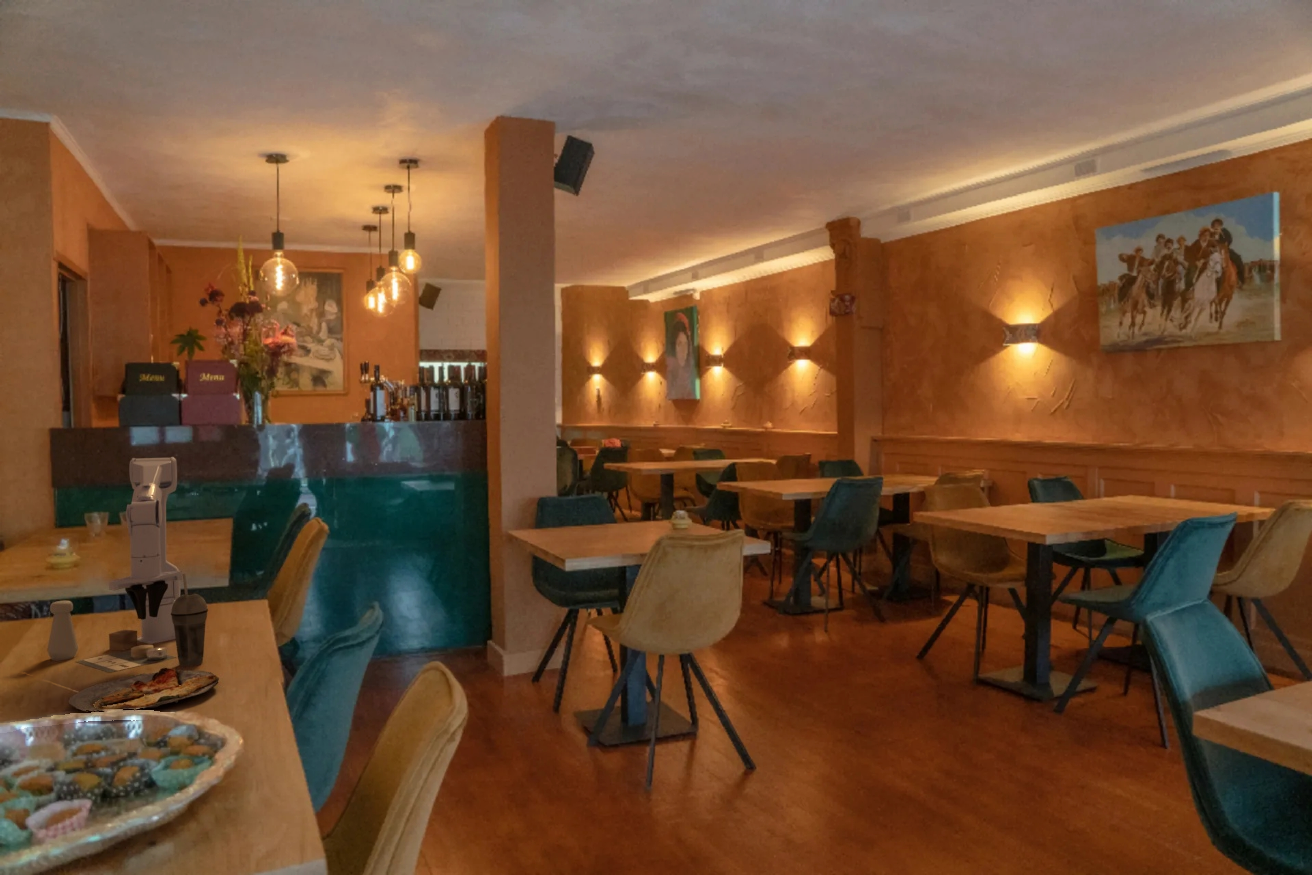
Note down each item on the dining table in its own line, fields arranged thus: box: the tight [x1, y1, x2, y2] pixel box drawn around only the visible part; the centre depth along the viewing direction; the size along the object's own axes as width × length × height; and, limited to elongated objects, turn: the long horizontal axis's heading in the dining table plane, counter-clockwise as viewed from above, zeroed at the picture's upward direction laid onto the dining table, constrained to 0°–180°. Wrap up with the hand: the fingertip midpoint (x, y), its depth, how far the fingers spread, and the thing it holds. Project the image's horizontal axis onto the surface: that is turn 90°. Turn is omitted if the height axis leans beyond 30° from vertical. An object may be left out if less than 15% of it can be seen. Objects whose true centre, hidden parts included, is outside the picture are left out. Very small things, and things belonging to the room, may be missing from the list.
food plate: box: [68, 666, 220, 712], centre depth 175 cm, size 25×23×4 cm
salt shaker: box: [46, 600, 79, 662], centre depth 205 cm, size 6×6×13 cm
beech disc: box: [130, 644, 154, 659], centre depth 206 cm, size 4×4×2 cm
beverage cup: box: [171, 573, 209, 668], centre depth 198 cm, size 7×7×20 cm
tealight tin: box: [146, 646, 168, 661], centre depth 203 cm, size 4×4×2 cm
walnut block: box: [108, 629, 139, 651], centre depth 214 cm, size 4×4×4 cm
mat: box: [75, 649, 178, 674], centre depth 203 cm, size 14×16×1 cm
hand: (147, 617), depth 201 cm, fingers closed
